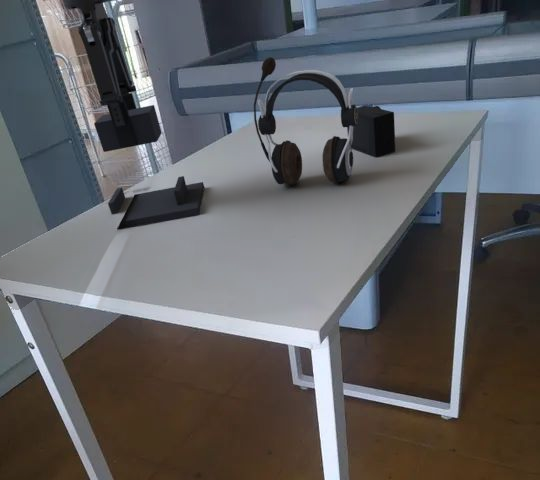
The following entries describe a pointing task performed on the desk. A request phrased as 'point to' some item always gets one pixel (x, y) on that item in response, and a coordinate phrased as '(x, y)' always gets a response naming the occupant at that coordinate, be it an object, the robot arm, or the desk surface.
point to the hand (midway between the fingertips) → (132, 140)
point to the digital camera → (374, 131)
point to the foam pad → (142, 125)
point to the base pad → (159, 204)
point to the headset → (288, 154)
